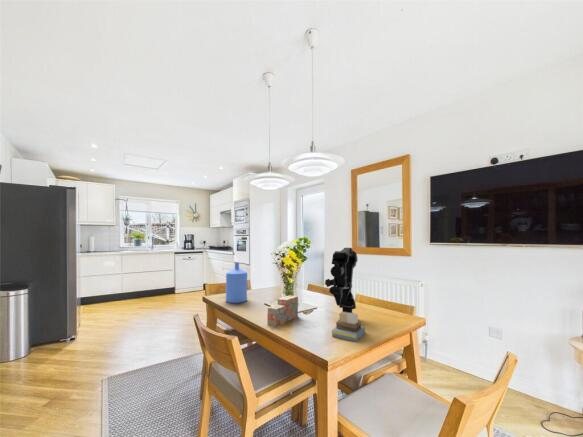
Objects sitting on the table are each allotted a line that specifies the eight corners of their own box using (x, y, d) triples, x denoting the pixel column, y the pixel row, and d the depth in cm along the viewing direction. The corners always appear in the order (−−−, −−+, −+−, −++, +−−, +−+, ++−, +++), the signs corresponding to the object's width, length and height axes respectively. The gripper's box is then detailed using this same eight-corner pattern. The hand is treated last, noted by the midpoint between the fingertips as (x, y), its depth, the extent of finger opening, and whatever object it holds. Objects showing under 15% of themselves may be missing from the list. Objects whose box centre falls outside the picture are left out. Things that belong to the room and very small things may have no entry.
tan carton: (342, 319, 135) (342, 311, 135) (350, 320, 132) (349, 312, 133) (339, 321, 131) (339, 313, 131) (347, 323, 129) (347, 314, 129)
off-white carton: (350, 320, 132) (349, 312, 133) (357, 322, 130) (357, 313, 131) (347, 323, 129) (347, 314, 129) (355, 324, 127) (355, 316, 127)
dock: (342, 328, 139) (342, 322, 139) (365, 332, 132) (365, 326, 133) (331, 336, 128) (331, 330, 128) (355, 341, 121) (355, 335, 121)
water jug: (250, 301, 195) (250, 263, 197) (229, 304, 187) (229, 264, 189) (242, 297, 209) (243, 261, 210) (223, 299, 201) (223, 262, 202)
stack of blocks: (276, 326, 142) (276, 303, 142) (267, 324, 145) (267, 301, 146) (298, 316, 159) (298, 296, 160) (289, 315, 163) (289, 294, 163)
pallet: (341, 324, 136) (341, 318, 136) (361, 328, 131) (360, 321, 131) (336, 328, 130) (336, 322, 131) (356, 332, 125) (356, 325, 125)
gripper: (333, 271, 156) (334, 297, 156) (319, 275, 141) (320, 305, 140) (352, 272, 151) (352, 300, 150) (339, 277, 135) (340, 308, 134)
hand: (341, 303), depth 144 cm, fingers open, 9 cm apart
